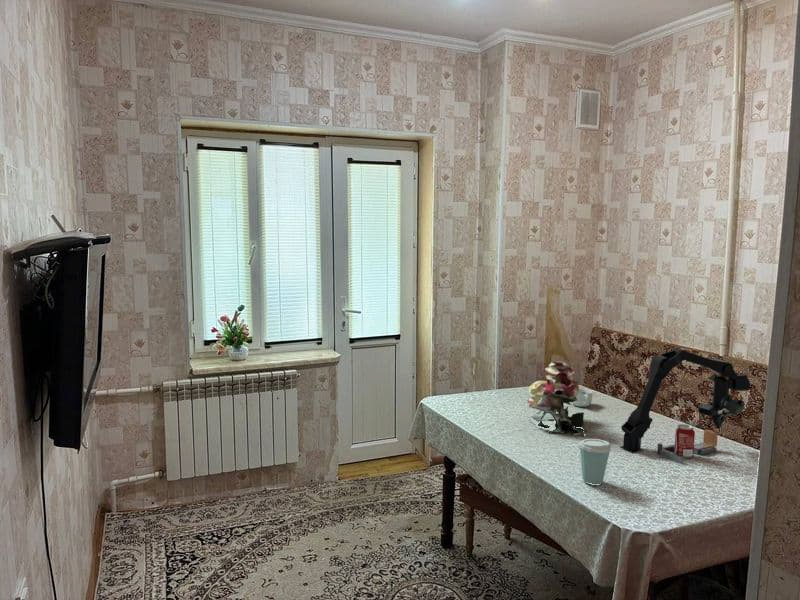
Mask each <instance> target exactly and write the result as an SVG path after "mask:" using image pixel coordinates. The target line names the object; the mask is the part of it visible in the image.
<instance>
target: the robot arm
mask: <svg viewBox="0 0 800 600" xmlns="http://www.w3.org/2000/svg"><path fill="white" fill-rule="evenodd" d="M683 361H686V362H689V363H693V364H696V365H699V366H702V367H705V368H707V369H708V370H710V371H711V372H714V373H715V374H714V373H713V374H711V376H709V377H708V380H710V381H712V383H713V384H712V385H713V386H712V392H709V395H710V396H711V401H710V402H709V405H708V404H703V405H700V406H698V409H697V411H698V413H699V414H700V413H701V414H703V415H706V416H710V417H711V419H712V421H713V424H714V426H715V428H716V429H718V430H720V429H721V427H722V425H723V423H724V421H725V419H726V418H727V416H729V415H737V414H741V412H742V411H743V410H745V401H744V400H742V399H739V400H736V399H735V400H734V399H733V397H732V394H729V393H730V391H732V392H748V391H749V390H750V388H751V383H750V379H748V374H744V373H740V374H737V373H736V371H735V369H734V365H733V364H732V363H730V362H729V361H726V360H723V359H720V358H719V359H718V358H710V357H709V358H708V357H705V356H702V355H699V354H697V353H693V352H691V351H687V350H685V349H683V348H675V349H673V350H671V351H668V352H667V351H666V352H664V353H661V354H657V355H656V354H655V355H654V356H653V357H652V358H651V361H650V364H649V378H648V380H647V383H646V385H645V387H644V390H643V393H642V395H641V397H640V401H639V403H638V405H637V407H636V408H635V409H634V410H633V411H632V412H631V413H630V415H629V416H628V418H627V421H625V422H624V423H623V424H622V425H621V426H620V427H621V431H622V432H624V434H623V439H622V440H623V441H622V442H623V444H622V445H621V446H619V448H620V449H623V450H625V451H627V452H628V453H629V452H630V453H633V454H634V453H638V452H642V451H644V448H642V446H641V445H642V439H643V438H644V436H645V433H646V432H647V431H648V430H650V428H651V427H650V426H651V424H652V422H653V418H652V417H650V412H651V410H652V407H653V405H654V402H655V399H656V398H657V397H656V396H657V394H658V393H659V390H660V387H661V385H662V383H663V380H665V378H666V377H668V376H669V375H670V372H671V371H672V370H673V368H675V367H677V366H678V365H680V363H682V362H683ZM717 374H718V375H717Z"/></svg>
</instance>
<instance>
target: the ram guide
mask: <svg viewBox="0 0 800 600" xmlns="http://www.w3.org/2000/svg"><path fill="white" fill-rule="evenodd" d="M700 444H705V443H703V442H699V443H694V446H696V445H700ZM714 453H717V446H715V447H710V448H705V449H701V450H700V454H699V456H700V455H701V456H707V455H710V454H711V455H712V454H714Z"/></svg>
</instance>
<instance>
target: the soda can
mask: <svg viewBox="0 0 800 600" xmlns="http://www.w3.org/2000/svg"><path fill="white" fill-rule="evenodd" d="M695 433H696V432H695V430H694V427H693V426H692V425H690V424H683V423H682V424H677V427H675V435H674V444H675V450H674V452H673V453H674V454H677V455H679V456H682V457H683V459H691V458H693V457H694V454H695V453H694V445H695V438H696V436H695Z"/></svg>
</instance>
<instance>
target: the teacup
mask: <svg viewBox="0 0 800 600" xmlns="http://www.w3.org/2000/svg"><path fill="white" fill-rule="evenodd" d="M582 392H585V393H582ZM593 393H594V392H593V391H592V390H590V389H586V388H580V387H579V392H578V396H577V397H576V398H577V399H578V401H574V402H571V404H572V405H573V406H575V407H579V408H587V407H588V406H590V405H591V404H592V401H593Z"/></svg>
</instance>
